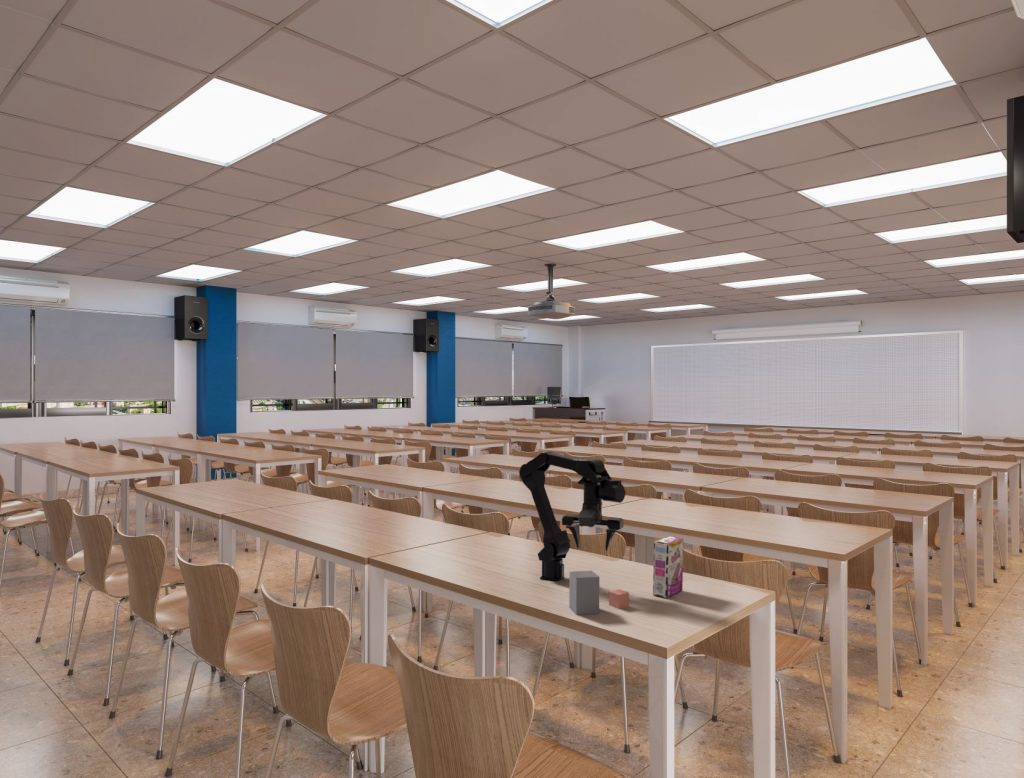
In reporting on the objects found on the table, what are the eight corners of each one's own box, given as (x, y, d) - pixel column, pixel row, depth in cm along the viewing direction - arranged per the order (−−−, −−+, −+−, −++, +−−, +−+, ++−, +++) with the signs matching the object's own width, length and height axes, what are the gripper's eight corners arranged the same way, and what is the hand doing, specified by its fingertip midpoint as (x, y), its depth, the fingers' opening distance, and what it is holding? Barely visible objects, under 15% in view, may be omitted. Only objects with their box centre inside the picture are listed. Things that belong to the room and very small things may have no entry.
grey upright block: (569, 607, 180) (569, 571, 181) (591, 605, 182) (591, 570, 182) (576, 614, 174) (576, 577, 174) (599, 613, 175) (599, 576, 176)
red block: (608, 605, 183) (608, 591, 183) (619, 603, 185) (619, 589, 185) (618, 609, 179) (618, 594, 180) (628, 606, 182) (628, 592, 182)
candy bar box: (667, 599, 189) (668, 543, 190) (652, 595, 192) (652, 541, 193) (683, 590, 198) (684, 537, 198) (668, 587, 201) (669, 535, 201)
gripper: (556, 500, 197) (555, 551, 197) (615, 505, 190) (615, 557, 190) (567, 496, 207) (567, 544, 207) (624, 500, 200) (623, 549, 200)
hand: (592, 549), depth 201 cm, fingers open, 9 cm apart
